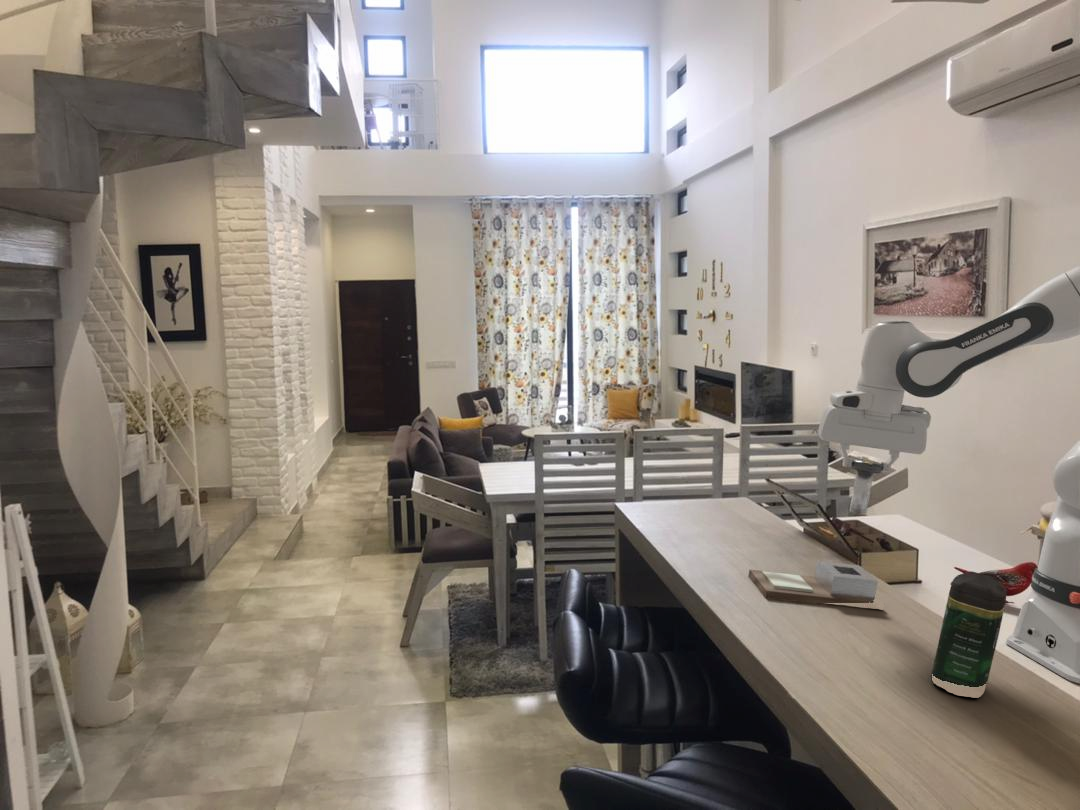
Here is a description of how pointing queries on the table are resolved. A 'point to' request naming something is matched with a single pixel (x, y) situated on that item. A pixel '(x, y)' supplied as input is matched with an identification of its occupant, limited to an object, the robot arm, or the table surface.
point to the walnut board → (796, 588)
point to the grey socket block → (845, 580)
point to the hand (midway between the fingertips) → (865, 469)
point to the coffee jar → (970, 630)
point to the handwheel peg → (863, 483)
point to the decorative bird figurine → (1012, 577)
